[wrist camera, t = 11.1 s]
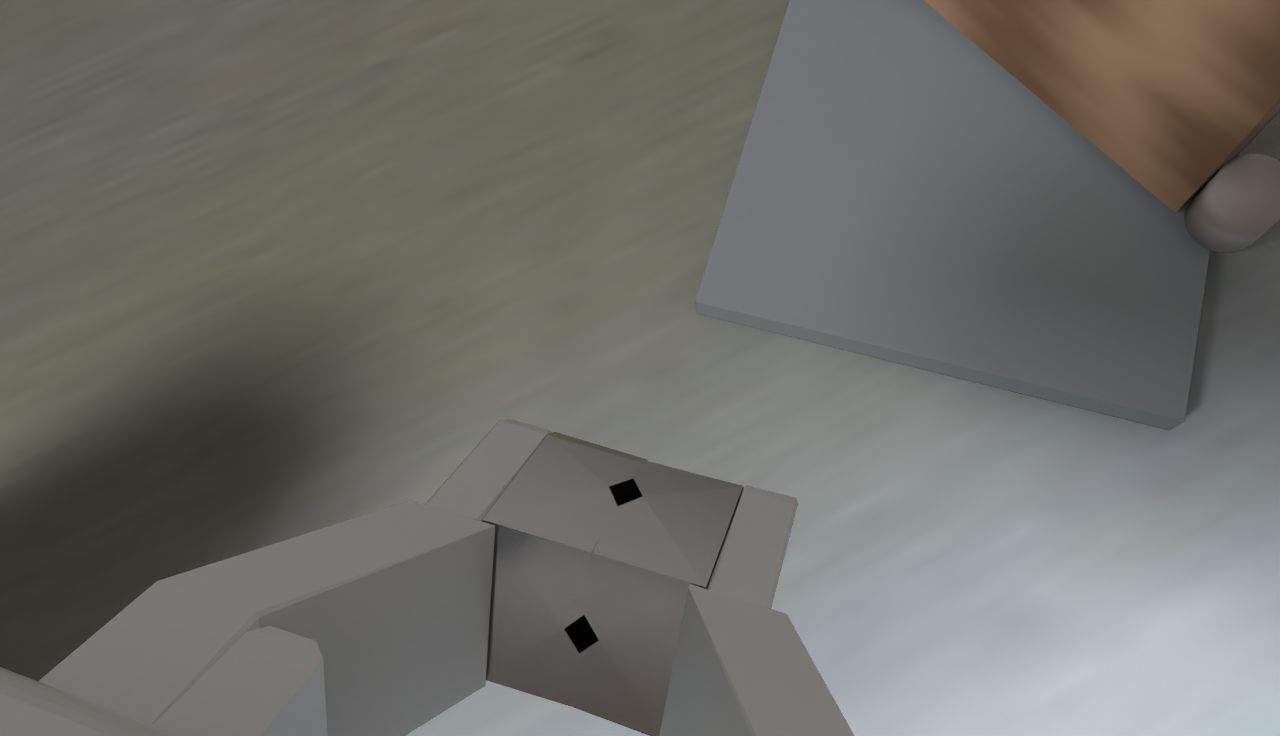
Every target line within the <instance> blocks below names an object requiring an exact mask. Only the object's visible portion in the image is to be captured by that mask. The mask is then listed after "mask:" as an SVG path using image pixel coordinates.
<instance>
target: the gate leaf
mask: <svg viewBox="0 0 1280 736" xmlns="http://www.w3.org/2000/svg"><path fill="white" fill-rule="evenodd" d="M924 1H925V2H926V3H927V4H929V5H930V6H931V7H932V8H933V9H934V10H936V11H937V12H938V13H939V14H940V15H942V16H943V17H944V18H945V19H946V20H947V21H949V22H950V23H951V24H952V25H953V26H954V27H956V28H957V29H958V30H959V31H960V32H962V33H963V34H964V35H965V36H966V37H967V38H969V39H970V40H971V41H972V42H973V43H975V44H976V45H977V46H978V47H979V48H980V49H982V50H983V51H984V52H985V53H986V54H988V55H989V56H990V57H991V58H992V59H993V60H995V61H996V62H997V63H998V64H999V65H1001V66H1002V67H1003V68H1004V69H1005V70H1006V71H1008V72H1009V73H1010V74H1011V75H1012V76H1014V77H1015V78H1016V79H1017V80H1018V81H1019V82H1021V83H1022V84H1023V85H1024V86H1025V87H1027V88H1028V89H1029V90H1030V91H1031V92H1032V93H1034V94H1035V95H1036V96H1037V97H1038V98H1040V99H1041V100H1042V101H1043V102H1044V103H1045V104H1047V105H1048V106H1049V107H1050V108H1051V109H1053V110H1054V111H1055V112H1056V113H1057V114H1058V115H1060V116H1061V117H1062V118H1063V119H1064V120H1066V121H1067V122H1068V123H1069V124H1070V125H1071V126H1073V127H1074V128H1075V129H1076V130H1077V131H1078V132H1080V133H1081V134H1082V135H1083V136H1084V137H1086V138H1087V139H1088V140H1089V141H1090V142H1091V143H1093V144H1094V145H1095V146H1096V147H1097V148H1099V149H1100V150H1101V151H1102V152H1103V153H1104V154H1106V155H1107V156H1108V157H1109V158H1110V159H1112V160H1113V161H1114V162H1115V163H1116V164H1117V165H1119V166H1120V167H1121V168H1122V169H1123V170H1125V171H1126V172H1127V173H1128V174H1129V175H1130V176H1132V177H1133V178H1134V179H1135V180H1136V181H1138V182H1139V183H1140V184H1141V185H1142V186H1143V187H1145V188H1146V189H1147V190H1148V191H1149V192H1151V193H1152V194H1153V195H1154V196H1155V197H1156V198H1158V199H1159V200H1160V201H1161V202H1162V203H1164V204H1165V205H1166V206H1167V207H1168V208H1169V209H1171V210H1172V211H1173V212H1174V213H1176V212H1177V211H1179V210H1180V209H1181V208H1182V207H1183V206H1185V205H1186V204H1187V203H1188V202H1189V201H1190V202H1189V204H1188V206H1187V207H1186V210H1185V214H1184V221H1185V226H1186V229H1187V231H1188V232H1189V234H1190V236H1191V237H1192V238H1193V239H1194V240H1195V241H1196V242H1197V243H1198V244H1200V245H1201V246H1203V247H1205V248H1207V249H1209V250H1212V251H1215V252H1220V253H1234V252H1238V251H1241V250H1243V249H1245V248H1247V247H1249V246H1250V245H1251V244H1252V243H1254V242H1255V241H1256V240H1257V239H1258V238H1259V237H1261V236H1262V235H1263V234H1264V233H1265V232H1266V231H1267V230H1269V229H1270V228H1271V227H1272V226H1273V225H1274V224H1276V223H1277V222H1278V221H1279V220H1280V161H1279V160H1277V159H1275V158H1273V157H1271V156H1267V155H1263V154H1256V153H1250V154H1243V155H1239V154H1240V153H1241V152H1242V151H1243V149H1244V148H1245V147H1246V146H1247V145H1248V144H1249V143H1250V142H1251V141H1252V140H1253V139H1254V138H1255V137H1256V136H1257V135H1258V133H1259V132H1260V131H1261V130H1262V129H1263V128H1264V127H1265V126H1266V125H1267V124H1268V123H1269V122H1270V121H1271V120H1272V118H1273V117H1274V116H1275V115H1276V114H1277V113H1278V112H1279V111H1280V0H924ZM1238 155H1239V156H1238Z"/></svg>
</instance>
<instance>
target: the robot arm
mask: <svg viewBox="0 0 1280 736" xmlns="http://www.w3.org/2000/svg"><path fill="white" fill-rule="evenodd" d="M797 505H798V503H797V500H796V498H795V497H790V496H786V495H782V494H778V493H774V492H770V491H766V490H762V489H757V488H753V487H749V486H746V487H745V488H744V487H743V486H741V485H737V484H733V483H730V482H726V481H722V480H718V479H714V478H710V477H707V476H703V475H699V474H695V473H691V472H687V471H684V470H680V469H676V468H672V467H668V466H664V465H661V464H657V463H653V462H649V461H648V460H647V459H643V458H640V457H637V456H633V455H630V454H627V453H623V452H620V451H617V450H613V449H610V448H607V447H603V446H600V445H597V444H593V443H590V442H587V441H584V440H580V439H577V438H574V437H570V436H567V435H564V434H560V433H557V432H554V433H552V432H551V431H550V430H547V429H543V428H540V427H536V426H532V425H529V424H525V423H521V422H518V421H514V420H511V419H507V420H502V421H500V422H498V423H497V424H496V425H495V426H494V427H493V428H492V429H491V430H490V431H489V433H488V434H487V435H486V436H485V437H484V438H483V439H482V441H481V442H480V443H479V444H478V445H477V446H476V447H475V448H474V450H473V451H472V452H471V453H470V454H469V455H468V456H467V457H466V459H465V460H464V461H463V462H462V463H461V464H460V465H459V466H458V468H457V469H456V470H455V471H454V472H453V473H452V474H451V475H450V477H449V478H448V479H447V480H446V481H445V482H444V483H443V485H442V486H441V487H440V488H439V489H438V490H437V491H436V492H435V494H434V495H433V496H432V497H431V498H430V499H429V500H428V501H427V503H426V504H423V503H420V502H416V501H413V500H410V501H407V502H404V503H400V504H397V505H394V506H391V507H388V508H385V509H382V510H379V511H375V512H372V513H369V514H366V515H363V516H360V517H357V518H353V519H350V520H347V521H344V522H341V523H338V524H335V525H331V526H328V527H325V528H322V529H319V530H316V531H313V532H309V533H306V534H303V535H300V536H297V537H294V538H291V539H288V540H284V541H281V542H278V543H275V544H272V545H269V546H266V547H262V548H259V549H256V550H253V551H250V552H247V553H244V554H240V555H237V556H234V557H231V558H228V559H225V560H222V561H218V562H215V563H212V564H209V565H206V566H203V567H200V568H197V569H193V570H190V571H187V572H184V573H181V574H178V575H175V576H171V577H168V578H165V579H162V580H159V581H156V582H155V583H154V584H153V585H152V586H150V587H149V588H148V589H147V590H146V591H144V592H143V593H142V594H141V595H140V596H139V597H137V598H136V599H135V600H134V601H133V602H131V603H130V604H129V605H128V606H127V607H126V608H124V609H123V610H122V611H121V612H120V613H118V614H117V615H116V616H115V617H114V618H113V619H111V620H110V621H109V622H108V623H107V624H105V625H104V626H103V627H102V628H101V629H99V630H98V631H97V632H96V633H95V634H94V635H92V636H91V637H90V638H89V639H88V640H86V641H85V642H84V643H83V644H82V645H81V646H79V647H78V648H77V649H76V650H75V651H73V652H72V653H71V654H70V655H69V656H68V657H66V658H65V659H64V660H63V661H62V662H60V663H59V664H58V665H57V666H56V667H54V668H53V669H52V670H51V671H50V672H49V673H47V674H46V675H45V676H44V677H43V678H41V679H40V680H39V681H36V680H33V679H30V678H28V677H25V676H23V675H20V674H17V673H15V672H12V671H9V670H7V669H4V668H2V667H0V736H405V735H407V734H409V733H410V732H412V731H413V730H415V729H417V728H418V727H420V726H421V725H423V724H425V723H426V722H428V721H429V720H431V719H433V718H434V717H436V716H437V715H439V714H441V713H442V712H444V711H445V710H447V709H449V708H450V707H452V706H453V705H455V704H457V703H458V702H460V701H461V700H463V699H465V698H466V697H468V696H469V695H471V694H473V693H474V692H476V691H477V690H479V689H481V688H482V687H484V686H485V684H486V680H487V681H490V682H494V683H497V684H500V685H503V686H507V687H510V688H513V689H516V690H519V691H523V692H526V693H529V694H532V695H536V696H539V697H542V698H545V699H549V700H552V701H555V702H558V703H562V704H565V705H568V706H571V707H574V708H577V709H579V710H582V711H585V712H587V713H590V714H593V715H595V716H598V717H601V718H604V719H606V720H609V721H612V722H614V723H617V724H620V725H622V726H625V727H628V728H630V729H633V730H636V731H639V732H641V733H644V734H647V735H649V736H854V734H853V732H852V731H851V729H850V727H849V725H848V723H847V722H846V720H845V718H844V716H843V714H842V713H841V711H840V709H839V707H838V706H837V704H836V702H835V700H834V698H833V697H832V695H831V693H830V691H829V689H828V688H827V686H826V684H825V682H824V680H823V679H822V677H821V675H820V673H819V671H818V670H817V668H816V666H815V664H814V662H813V661H812V659H811V657H810V655H809V653H808V652H807V650H806V648H805V646H804V644H803V643H802V641H801V639H800V637H799V635H798V634H797V632H796V630H795V628H794V626H793V625H792V623H791V621H790V619H789V617H788V616H787V615H786V614H785V613H782V612H778V611H775V610H772V609H771V607H772V603H773V599H774V595H775V591H776V588H777V584H778V580H779V576H780V572H781V568H782V564H783V560H784V556H785V552H786V548H787V544H788V541H789V537H790V533H791V529H792V525H793V521H794V517H795V513H796V509H797Z"/></svg>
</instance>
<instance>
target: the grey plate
mask: <svg viewBox="0 0 1280 736" xmlns="http://www.w3.org/2000/svg"><path fill="white" fill-rule="evenodd" d="M1189 202H1190V201H1189ZM1189 202H1188V203H1187V204H1186V205H1185V206H1183V207H1182V208H1181V209H1180V210H1179V211H1177V212H1176V213H1174V212H1173V211H1172V210H1171V209H1169V208H1168V207H1167V206H1166V205H1165V204H1164V203H1162V202H1161V201H1160V200H1159V199H1158V198H1156V197H1155V196H1154V195H1153V194H1152V193H1151V192H1149V191H1148V190H1147V189H1146V188H1145V187H1143V186H1142V185H1141V184H1140V183H1139V182H1138V181H1136V180H1135V179H1134V178H1133V177H1132V176H1130V175H1129V174H1128V173H1127V172H1126V171H1125V170H1123V169H1122V168H1121V167H1120V166H1119V165H1117V164H1116V163H1115V162H1114V161H1113V160H1112V159H1110V158H1109V157H1108V156H1107V155H1106V154H1104V153H1103V152H1102V151H1101V150H1100V149H1099V148H1097V147H1096V146H1095V145H1094V144H1093V143H1091V142H1090V141H1089V140H1088V139H1087V138H1086V137H1084V136H1083V135H1082V134H1081V133H1080V132H1078V131H1077V130H1076V129H1075V128H1074V127H1073V126H1071V125H1070V124H1069V123H1068V122H1067V121H1066V120H1064V119H1063V118H1062V117H1061V116H1060V115H1058V114H1057V113H1056V112H1055V111H1054V110H1053V109H1051V108H1050V107H1049V106H1048V105H1047V104H1045V103H1044V102H1043V101H1042V100H1041V99H1040V98H1038V97H1037V96H1036V95H1035V94H1034V93H1032V92H1031V91H1030V90H1029V89H1028V88H1027V87H1025V86H1024V85H1023V84H1022V83H1021V82H1019V81H1018V80H1017V79H1016V78H1015V77H1014V76H1012V75H1011V74H1010V73H1009V72H1008V71H1006V70H1005V69H1004V68H1003V67H1002V66H1001V65H999V64H998V63H997V62H996V61H995V60H993V59H992V58H991V57H990V56H989V55H988V54H986V53H985V52H984V51H983V50H982V49H980V48H979V47H978V46H977V45H976V44H975V43H973V42H972V41H971V40H970V39H969V38H967V37H966V36H965V35H964V34H963V33H962V32H960V31H959V30H958V29H957V28H956V27H954V26H953V25H952V24H951V23H950V22H949V21H947V20H946V19H945V18H944V17H943V16H942V15H940V14H939V13H938V12H937V11H936V10H934V9H933V8H932V7H931V6H930V5H929V4H927V3H926V2H925V1H924V0H790V1H789V4H788V7H787V10H786V14H785V17H784V20H783V23H782V26H781V29H780V33H779V36H778V39H777V42H776V45H775V49H774V52H773V55H772V58H771V61H770V65H769V68H768V71H767V74H766V77H765V80H764V84H763V87H762V90H761V93H760V96H759V100H758V103H757V106H756V109H755V112H754V115H753V119H752V122H751V125H750V128H749V131H748V135H747V138H746V141H745V144H744V147H743V150H742V154H741V157H740V160H739V163H738V166H737V170H736V173H735V176H734V179H733V182H732V185H731V189H730V192H729V195H728V198H727V201H726V205H725V208H724V211H723V214H722V217H721V220H720V224H719V227H718V230H717V233H716V236H715V240H714V243H713V246H712V249H711V252H710V256H709V259H708V262H707V265H706V268H705V271H704V275H703V278H702V281H701V284H700V287H699V291H698V294H697V297H696V300H695V304H696V310H697V314H701V315H705V316H709V317H713V318H717V319H722V320H726V321H730V322H734V323H738V324H742V325H746V326H750V327H754V328H758V329H762V330H766V331H770V332H774V333H778V334H782V335H786V336H790V337H794V338H798V339H803V340H807V341H811V342H815V343H819V344H823V345H827V346H831V347H835V348H839V349H843V350H847V351H851V352H855V353H859V354H863V355H867V356H871V357H875V358H879V359H884V360H888V361H892V362H896V363H900V364H904V365H908V366H912V367H916V368H920V369H924V370H928V371H932V372H936V373H940V374H944V375H948V376H952V377H956V378H961V379H965V380H969V381H973V382H977V383H981V384H985V385H989V386H993V387H997V388H1001V389H1005V390H1009V391H1013V392H1017V393H1021V394H1025V395H1029V396H1033V397H1037V398H1042V399H1046V400H1050V401H1054V402H1058V403H1062V404H1066V405H1070V406H1074V407H1078V408H1082V409H1086V410H1090V411H1094V412H1098V413H1102V414H1106V415H1110V416H1114V417H1118V418H1123V419H1127V420H1131V421H1135V422H1139V423H1143V424H1147V425H1151V426H1155V427H1159V428H1163V429H1167V430H1170V429H1172V428H1174V427H1175V426H1177V425H1179V424H1181V423H1182V422H1184V421H1185V416H1186V410H1187V403H1188V396H1189V390H1190V383H1191V376H1192V370H1193V363H1194V356H1195V350H1196V343H1197V336H1198V330H1199V323H1200V316H1201V310H1202V303H1203V296H1204V290H1205V283H1206V276H1207V270H1208V263H1209V256H1210V250H1209V249H1207V248H1205V247H1203V246H1201V245H1200V244H1198V243H1197V242H1196V241H1195V240H1194V239H1193V238H1192V237H1191V236H1190V234H1189V232H1188V231H1187V229H1186V226H1185V221H1184V214H1185V210H1186V207H1187V206H1188V204H1189Z"/></svg>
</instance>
